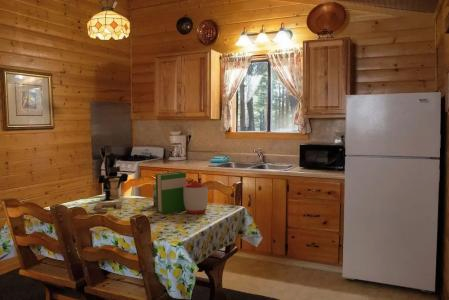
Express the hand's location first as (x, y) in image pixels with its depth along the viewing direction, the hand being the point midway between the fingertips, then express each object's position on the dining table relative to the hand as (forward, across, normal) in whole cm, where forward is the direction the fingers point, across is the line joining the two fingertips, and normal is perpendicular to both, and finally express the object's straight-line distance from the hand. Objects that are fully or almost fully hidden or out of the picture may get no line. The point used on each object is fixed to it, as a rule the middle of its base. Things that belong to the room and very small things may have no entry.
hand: (114, 188), depth 253 cm
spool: (+4, 0, +6) cm, 7 cm away
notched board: (+5, -3, +14) cm, 15 cm away
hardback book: (+26, +32, -7) cm, 42 cm away
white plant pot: (+32, +46, -14) cm, 57 cm away
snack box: (+15, +34, +4) cm, 38 cm away
